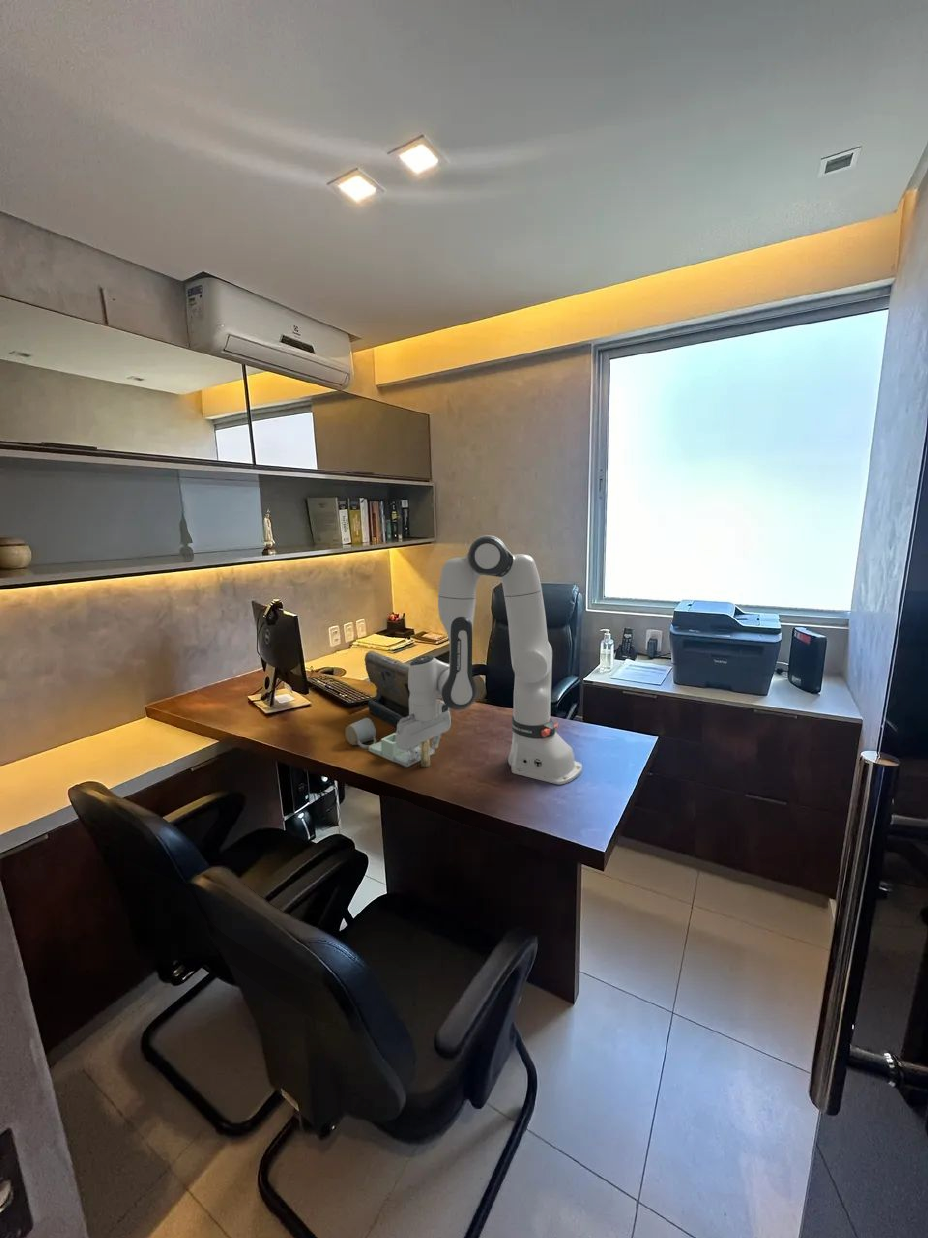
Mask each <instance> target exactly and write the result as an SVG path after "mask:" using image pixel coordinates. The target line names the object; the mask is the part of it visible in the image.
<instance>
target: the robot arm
mask: <svg viewBox="0 0 928 1238" xmlns="http://www.w3.org/2000/svg"><path fill="white" fill-rule="evenodd" d="M482 576H490V577H497V578H499V579H500V580H501V581H500V582H501V584H502V585H501V586H502V590H503V596H504V602H505V605H504V606H505V610H506V616H507V617H506V618H507V624H508V625H507V626H508V637H509V648H510V651H509V652H510V659H511V665H512V670H513V673H514V686H513V688H514V689H513V716H512V719H511V730H512V741H511V747H510V752H509V755H508V759H507V763H508V764H509V766H510V767H511V770H510V771H511V772H512V773H513V774H515V775H517V776H518V775H519V776H523V777H527V778H531V779H536V780H539V781H542V782H547V783H551V784H554V785H559V786H560V785H563V784H567V783H570V782H572V781H573V780H575V779H576V778H577V777H578V776H580V774H581V773H582V772H583V764H582V763H580V762H579V761H576V759H575V754H574V751H573V748H572V747H571V746H570V745H569V744H568V743H567V742H566V741H565V740H564V739H563V738H562V737H561V736H560V735H559V734H558V733H557V732H556V729H557V728H558V727H559V723H556V724H555V723H553V720H552V718H551V700H552V697H551V696H552V695H551V694H552V671H553V670H552V669H553V668H552V667H553V666H552V665H553V663H552V662H553V649H552V646H551V643H550V642H549V637H548V626H547V616H546V609H545V602H544V596H543V587H542V582H541V578H540V573H539V571H538V567H537V565H536V561H535V560H534V559H533V557H532V556H530V555H528V554H523V553H517V554H513V553H511V551H510V550H509V549H508V548H507V546H506V545H505V543H504V542H503V541H502V540H501V539H500V538H498V537H497V536H494V535H492V534H491V535H490V534H489V535H486V534H485V535H481V536H479V537H478V538H476V539H475V540H474V541H473V542H472V543H471V545H470V546H469V549H468V553H467V554H466V556H465V557H454V558H451V559H447V560H446V561H445V562H444V564H443V565H442V569H441V572H440V577H439V582H438V583H439V584H438V589H437V591H438V593H437V609H438V617H439V620H440V622H441V624H442V626H443V627H444V630H445V632H446V635H447V638H448V642H449V663H446V662H444V661H441V660H439V659H437V658H435V657H434V656H432V655H422V656H420V657H416V658H414V659H413V660H412V661H411V662H410V663H409V665H410V666H409V671H408V689H409V692H410V696H409V716H407V717H405V718H402V719H401V720H400V721H399V723H398V724H397V728H396V731H395V733H396V746H397V747H398V748H400V749H402V750H407V749H408V750H409V752H410V757H411V758H412V759H415V758H417V757H418V752H415V751H414V749H415V745H418V744H420V743H422V742H424V741H426V740H428V739H429V740H430V739H432V741H431V742H430V747H431V748H433V749H434V750H435V749H437V748H439V742H440V740H441V737H442V734H443V733H446V732H448V731H449V730H450V728H451V727H452V726H451V725H452V723H451V722H452V721H451V719H452V717H451V712H450V709H451V710H453V711H461V710H465V709H467V708H469V707H470V706H471V705H473V703H475V701H476V699H477V697H478V688H477V685H476V681H475V679H474V677H473V632H474V631H473V630H474V618H475V608H476V599H477V598H476V597H477V584H478V581H479V579H481V577H482ZM439 698H441V699H442V700H440V699H439Z"/></svg>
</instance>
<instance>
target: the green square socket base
mask: <svg viewBox="0 0 928 1238" xmlns="http://www.w3.org/2000/svg"><path fill="white" fill-rule="evenodd" d="M372 744H373V743H372ZM372 744H370V745H371V746H369V749H368V751H369V752H371V753H373V754H375V755H378V756H379V757H382V758H384V759H386V760H388V761H391V762H393V763H395V762H394V757H395V756H397V755H399V754H401V753H403V752H406V751H407V750H402V749H400V748H398V747H397V746H396V732H394V733H391V734H389V735H387V736H384V737H383V738H380V741H378V742H376V743H375V744H373V745H372Z"/></svg>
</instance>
